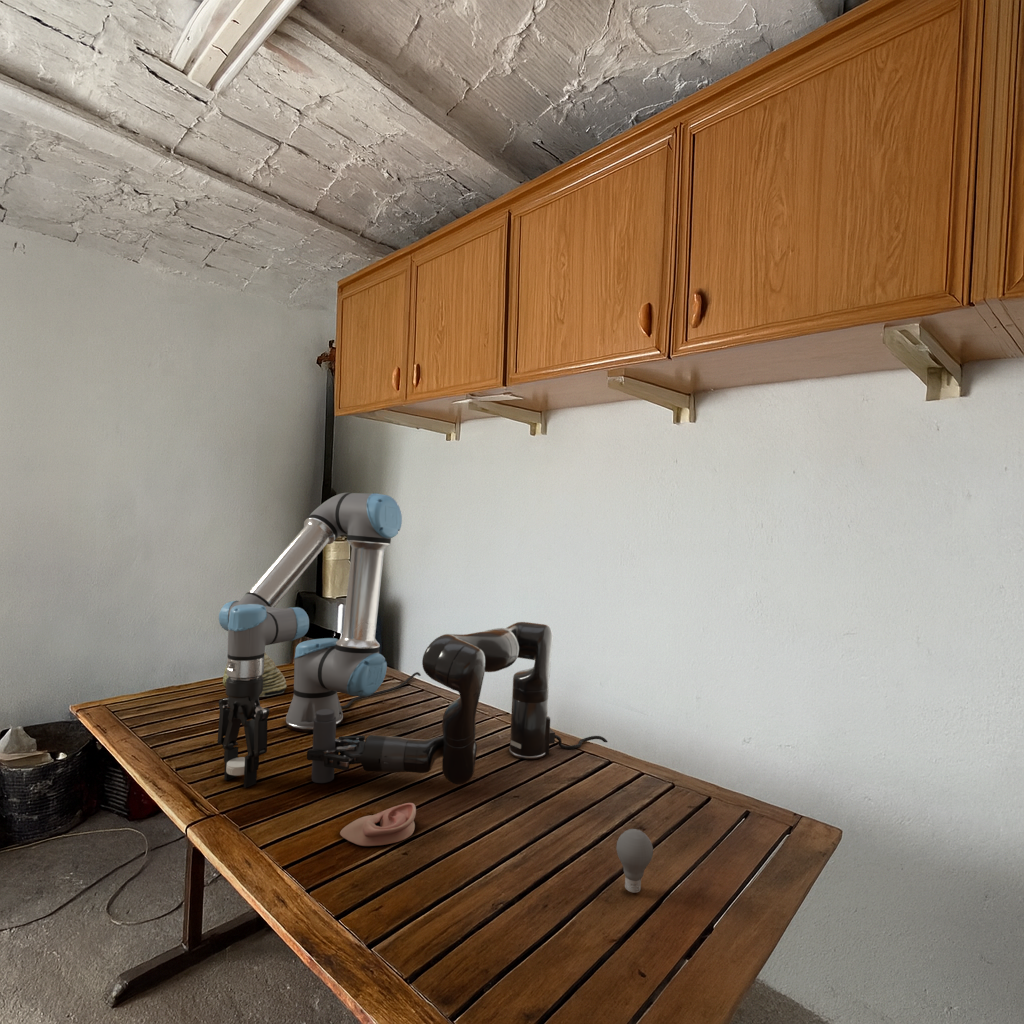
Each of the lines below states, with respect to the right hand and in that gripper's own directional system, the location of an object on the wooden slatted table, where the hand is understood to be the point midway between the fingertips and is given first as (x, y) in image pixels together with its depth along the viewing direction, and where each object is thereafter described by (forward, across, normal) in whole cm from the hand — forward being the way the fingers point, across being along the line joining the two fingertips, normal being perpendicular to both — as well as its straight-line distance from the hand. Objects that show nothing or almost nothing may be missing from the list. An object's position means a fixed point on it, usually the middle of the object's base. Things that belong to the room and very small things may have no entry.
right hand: (312, 749), depth 142 cm
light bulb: (-67, +34, +6) cm, 75 cm away
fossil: (+38, -54, +6) cm, 66 cm away
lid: (+14, +4, +2) cm, 15 cm away
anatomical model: (-21, +21, +6) cm, 30 cm away
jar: (-3, 0, +6) cm, 7 cm away
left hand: (+14, +4, +6) cm, 16 cm away
